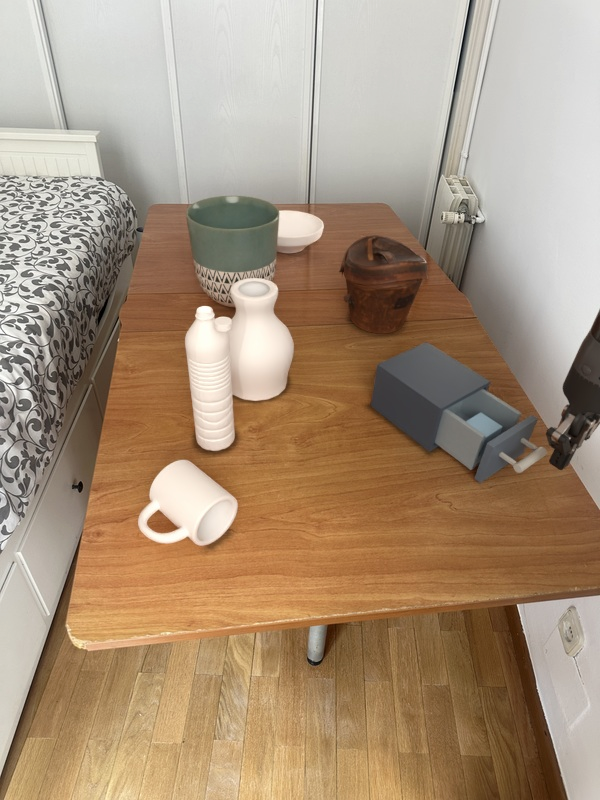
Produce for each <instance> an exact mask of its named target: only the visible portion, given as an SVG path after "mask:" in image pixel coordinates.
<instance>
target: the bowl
mask: <svg viewBox="0 0 600 800" xmlns="http://www.w3.org/2000/svg"><path fill="white" fill-rule="evenodd" d="M279 213H280V215H279V231H278V246H277V253H283V254H295V253H300V252H302V251H303V250H305V248H307V247H308V246H310V245H311V244H313V243H315V242H316V241H319V240H320V239H321V237H322V235H323V233H324V227H325V224H324V222H323V220H322V219H320V218H319V217H318V216H316V215H314V214H311V213H308V212H305V211H299V210H279Z"/></svg>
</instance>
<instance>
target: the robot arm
mask: <svg viewBox="0 0 600 800" xmlns="http://www.w3.org/2000/svg"><path fill="white" fill-rule="evenodd" d="M562 393H563V395H564V396H565V399H566V400H567V402H568V403H567V404H566V405H565V406H564V407H563V409H562V411H561V413H560V415H561V418H560V421H559V423H558V425H557V427H556V426H554V427H553V426H550V427H549V428H547V430H546V433H545V436H546V439H547V442H548V446H549V447H550V448H552V449H553V451H552V453H551V455H550V458H549V460H548V462H549V464H550V465H551V466H553V467H555V468H556V469H557V470H559V471H562V470H564V469H565V468H567V467H568V466H569V464H570V463H571V460H572V459H573V457H574V455H575V453H576V451H577V450H578V449H579V448H581V447H582V446H583V443H584V441H587V440H590V439H591V437H592V435H593V434H594V432H595V431H596V429H597V428H598V427H599V425H600V308H599V309H598V312H597V314H596V316H595V318H594V321H593V322H592V325H591V327H590V328H589V331H588V332H587V334H586V336H585V337H584V338H583V340H582V342H581V344H580V346H579V348H578V350H577V352H576V354H575V357H574V359H573V361H572V363H571V366H570V368H569V370H568V372H567V374H566V377H565V379H564V381H563V383H562Z"/></svg>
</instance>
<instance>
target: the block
mask: <svg viewBox="0 0 600 800" xmlns="http://www.w3.org/2000/svg"><path fill="white" fill-rule="evenodd" d="M466 422H467V423H468V424H470V425H471V426H473V427H474V428H476V429H477V430H479V431H480V432H481V433H483V434H484V435H485V438H484V441H483V444H482V447H481V450H480V453H479V455H478V456H479V457H480V456H481V455H483V453H484V450H485V447H486V444H487V443H488V442H490V441H491V440H493V439H494V438H496V437H497V436H499V435H500V433H501V430H502V427H503V426H501V425H500V424H498V423H496V422H495V421H493V420H492V419H490V418H489V417H487V416H486V415H484V414H483V413H481V412H480V413H479V414H477V415H475V416H474V417H472V418H470V419H469V420H467V421H466Z"/></svg>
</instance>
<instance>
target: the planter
mask: <svg viewBox="0 0 600 800" xmlns="http://www.w3.org/2000/svg"><path fill="white" fill-rule="evenodd" d="M279 211H280V209H279V208H278V207H277V206H276V205H275V204H273V203H272V202H270V201H267V200H264V199H262V198H258V197H253V196H247V195H219V196H213V197H208V198H204V199H200V200H198V201H196V202H194V203H192V204H190V205H189V206H188V207H187V208H186V211H185V217H186V225H187V230H188V231H187V232H188V237H189V244H190V251H191V257H192V262H193V269H194V272H195V273H194V274H195V276H196V279H197V282H198V284H199V286H200V287H201V289H202V291H203V292H204V294H206V296H208V298H210V299H211V300H212V301H213V302H215V303H218V304H219V305H221V306H223V307H229V308H236V307H235V304H234V302H233V299H232V296H231V287H232V285H233V284H234V283H236V282H237V281H239V280H243V279H247V278H261V279H266V280H269V281H272V282H273V283H274V278H275V275H276V269H277V260H278V259H277V258H278V251H277V246H278V231H279V215H280V213H279Z"/></svg>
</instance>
